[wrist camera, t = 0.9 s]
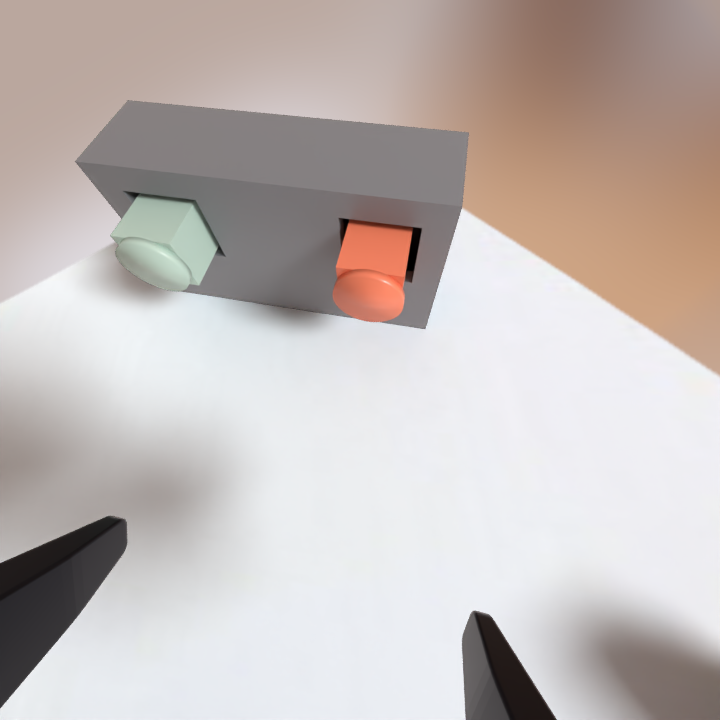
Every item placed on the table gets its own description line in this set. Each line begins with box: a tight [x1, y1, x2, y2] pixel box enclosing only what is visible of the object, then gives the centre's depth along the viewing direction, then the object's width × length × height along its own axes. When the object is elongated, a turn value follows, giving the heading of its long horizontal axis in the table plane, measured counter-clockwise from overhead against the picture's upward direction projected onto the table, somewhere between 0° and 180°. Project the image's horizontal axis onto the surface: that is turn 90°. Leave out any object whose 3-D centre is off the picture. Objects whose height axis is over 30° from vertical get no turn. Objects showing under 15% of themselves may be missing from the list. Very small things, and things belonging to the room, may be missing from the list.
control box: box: [75, 100, 469, 329], centre depth 24 cm, size 6×21×12 cm, turn 79°
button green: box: [110, 193, 219, 291], centre depth 21 cm, size 5×4×4 cm
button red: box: [333, 219, 413, 322], centre depth 20 cm, size 5×4×4 cm
